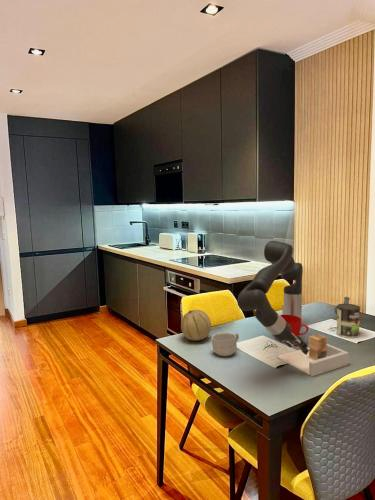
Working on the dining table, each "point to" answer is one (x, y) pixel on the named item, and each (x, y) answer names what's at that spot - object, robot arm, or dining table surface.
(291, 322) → the ceramic cup
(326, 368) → the platform
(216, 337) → the teacup
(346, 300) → the mortar and pestle
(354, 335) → the coffee can
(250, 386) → the dining table surface
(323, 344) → the wood block
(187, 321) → the cantaloupe
